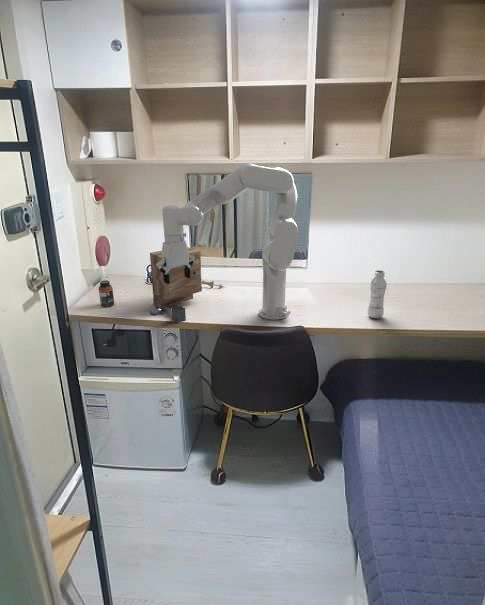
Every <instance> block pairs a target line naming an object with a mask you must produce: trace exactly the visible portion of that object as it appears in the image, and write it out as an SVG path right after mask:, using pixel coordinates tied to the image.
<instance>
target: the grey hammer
mask: <svg viewBox="0 0 485 605" xmlns="http://www.w3.org/2000/svg"><path fill="white" fill-rule="evenodd" d="M157 305H158V306H161V307H162V314H163V313H164V314H165V315H167V316H168V317H171V318H172V319H171V320H172V321H174V322H175V323H177V324H179V323H183V322H186V321H187V316H186V313H187V312H186V308H185V307H184V306H182V305H177V306H173V307H171V308H169V307H168V306H163V305H162V304H157Z"/></svg>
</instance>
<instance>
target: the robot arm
mask: <svg viewBox="0 0 485 605" xmlns="http://www.w3.org/2000/svg"><path fill="white" fill-rule="evenodd" d="M294 182H295V181H294V176H293V174H292V173H291V172H289V170H287V169H285V168H282V167H279V166H277V167H266V166H262V165H257V164H255V163H251V162H247V163H244V164H242V165H241V166H239V167H238V168H236V169H235V170H233V171H232V172H230V173H229V174H227V175H226V176H225V177H224V178H222V179H220V181H218V182H217V183H214V184H213V185H211V186H210V187H208V188H207V189H205V190H203V191H202V192H201V193H199V194H198V195H196V196H195V197H193V198H192V199H190V200H189V201H188V202H187V203H185V204H184V206H183V207H181V206H180V205H175V204H172V205H165V206H164V207H163V208H162V209H161V212H162V224H163V226H162V227H163V236H164V242H162V246H161V251H162V260H161V261H159V262H158V263H157V264H156V266H157V268H158V269H159V271H161V272H162V273H163V279H164V282H165V283H167V284H170V278H169V274H168V272H169V270H170V269H172V268H176V267H180V266H185V267H184V273H185V277H186V278H190V275H191V274H190V269H191V266H192V264H193V263H194V262H193V261H194V259H195V256H193V255H190V254H188V248H187V247H188V244H187V241H186V240H185V237H187V233H186V232H184V230H185V229H184V226H189V227H195V226H198V225H199V224H201V223H202V222H203V219H204V215H205V214H206V213H208V212H209V211H211V210H212V209H214V208H217V207H218V206H221V205H226V204H228V203H231V202H232V201H233V200H235V199H236V198H238V197H239V196H240V195H242V194H243V193H245V192H247V191H249V189H251V190H254V191H255V190H256V191H261V192H267V193H268V192H269V193H274V200H275V201H274V207H273V212H272V215H271V221H270V223H269V231H270V234H271V235H272V240H270V241H268V242H266V243H265V244H264V246H263V248H262V253H261V258H262V261H261V262H262V308H260V309H259V310H258V316H260V317H261V318H263V319H265V320H272V321H274V320H278V321H279V320H282V319H286V318H288V317H289V315H291V313H292V312H291V311H290V310H288V307H287V305H286V291H287V290H286V289H287V288H286V287H287V285H286V284H287V269H288V268H289V267H290V266H291V265H292V262H293V260H294V256H295V252H296V248H297V243H298V240H299V239H298V238H299V227H298V225H297V223H296V222H295V216H296V210H297V204H298V193H297V192H298V191H297V188H296V185H295V183H294ZM189 258H190V261H189ZM162 265H163V266H164V268H162Z"/></svg>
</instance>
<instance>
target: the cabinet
mask: <svg viewBox="0 0 485 605" xmlns="http://www.w3.org/2000/svg"><path fill="white" fill-rule="evenodd" d="M187 248H188V254H190V255H193V256H195V259H194V261H193V262H194V263H193V264H192V266H191V269H190V274H191V275H190V278H186V277H185V273H184V267H185V266H180V267H176V268H172V269H170V270H169V272H168V274H169V278H170V284H167V283H165V282H164V279H163V273H162V272H161V271H159V269H158V268H157V266H156V264H157V263H158V262H159V261H161V260H162V250H157V251H152V252H149V261H150V273H151V285H152V298H153V306H158V305H157V304H162V305H163V306H165V307H169V306H172V305H175V304H178V303H183V302H186V301H190V300H194V294H196V293H200V292H202V291H203V288H202V287H203V284H202V283H201V281H202V264H201V263H202V262H201V260H202V259H201V257H202V256H201V251H200V250H197V249H195V248H191V247H188V246H187ZM189 261H190V258H189ZM162 268H164V266H163V265H162Z"/></svg>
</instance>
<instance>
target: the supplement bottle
mask: <svg viewBox="0 0 485 605" xmlns="http://www.w3.org/2000/svg"><path fill="white" fill-rule="evenodd" d="M99 283H100V284H99V286H98V294H99V302H100V306H101V307H102V308H111V307H112V306H115V298H114V290H113V285H111V283H110V280H108V279H105V280H100V281H99Z"/></svg>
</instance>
